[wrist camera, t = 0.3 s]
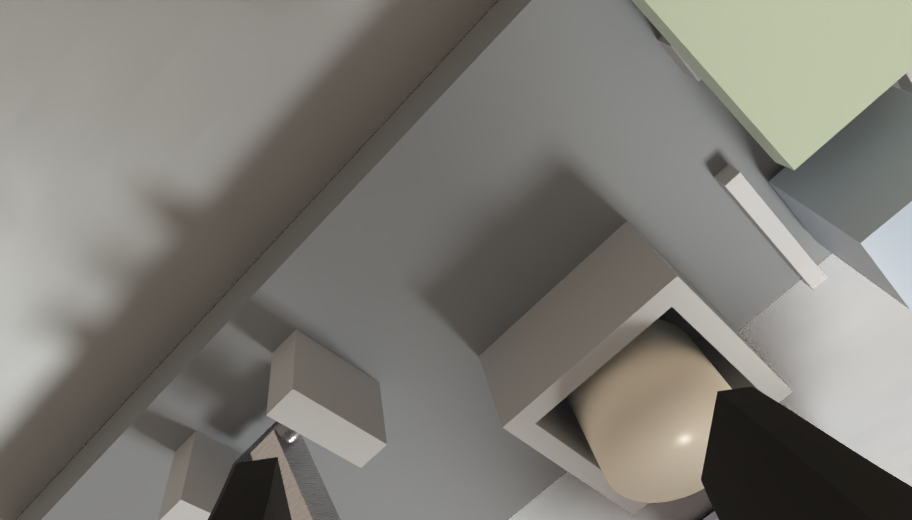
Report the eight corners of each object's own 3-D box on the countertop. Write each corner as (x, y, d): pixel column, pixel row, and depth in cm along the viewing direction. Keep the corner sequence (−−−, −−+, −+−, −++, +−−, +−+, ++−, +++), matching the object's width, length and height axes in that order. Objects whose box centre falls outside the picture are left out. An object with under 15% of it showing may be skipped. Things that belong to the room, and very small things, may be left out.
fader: (923, 151, 19) (1044, 205, 16) (816, 241, 20) (910, 309, 16) (881, 82, 17) (1003, 126, 14) (768, 181, 18) (860, 242, 15)
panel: (942, 96, 21) (1106, 153, 16) (303, 638, 28) (300, 777, 23) (741, -262, 15) (908, -318, 11) (11, 524, 22) (-62, 678, 18)
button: (720, 365, 19) (777, 433, 17) (620, 446, 20) (660, 523, 18) (644, 293, 18) (696, 358, 15) (538, 386, 19) (571, 461, 16)
